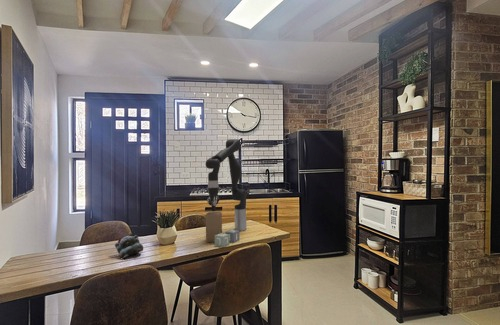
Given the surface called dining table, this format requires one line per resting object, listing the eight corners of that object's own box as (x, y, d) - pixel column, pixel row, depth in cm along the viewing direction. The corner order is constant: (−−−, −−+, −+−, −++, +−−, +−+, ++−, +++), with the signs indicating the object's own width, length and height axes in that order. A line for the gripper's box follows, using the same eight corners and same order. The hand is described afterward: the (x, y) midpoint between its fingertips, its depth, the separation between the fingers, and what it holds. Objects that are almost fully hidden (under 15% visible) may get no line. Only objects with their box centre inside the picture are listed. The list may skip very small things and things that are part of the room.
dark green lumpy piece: (117, 260, 170) (110, 238, 174) (121, 262, 180) (114, 241, 184) (143, 250, 175) (136, 228, 179) (145, 252, 185) (139, 232, 189)
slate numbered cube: (231, 239, 213) (231, 229, 213) (239, 240, 209) (239, 230, 209) (225, 241, 207) (225, 231, 207) (233, 243, 203) (233, 232, 203)
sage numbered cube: (221, 243, 203) (221, 232, 203) (229, 244, 199) (229, 234, 199) (214, 245, 197) (214, 235, 197) (223, 247, 193) (222, 236, 193)
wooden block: (222, 238, 214) (221, 211, 214) (219, 242, 204) (219, 214, 204) (209, 238, 215) (208, 211, 215) (205, 242, 205) (205, 214, 205)
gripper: (215, 185, 217) (215, 209, 217) (203, 187, 206) (203, 211, 206) (223, 186, 213) (223, 210, 213) (211, 187, 202) (211, 212, 202)
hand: (213, 210), depth 209 cm, fingers closed
